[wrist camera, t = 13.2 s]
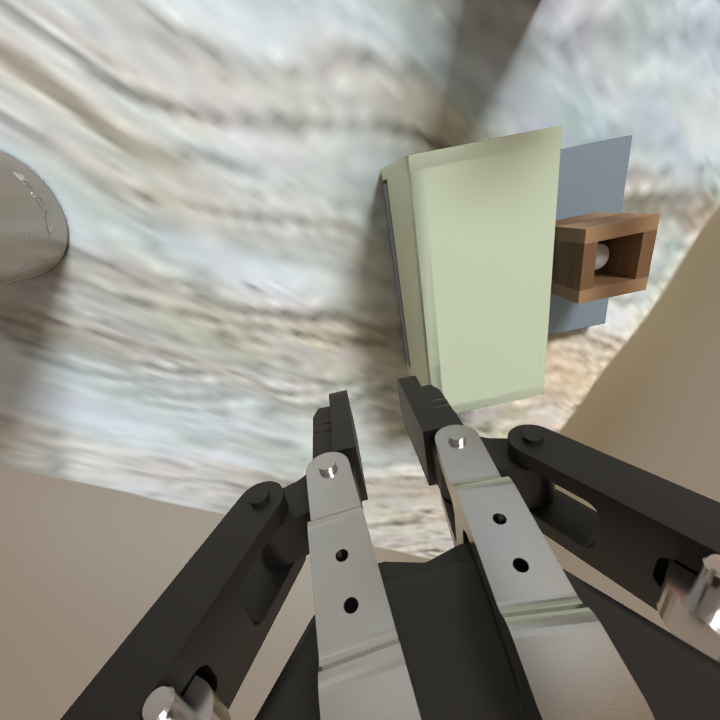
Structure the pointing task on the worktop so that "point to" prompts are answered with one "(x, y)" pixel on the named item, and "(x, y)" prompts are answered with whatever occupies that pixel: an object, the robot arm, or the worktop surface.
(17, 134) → the worktop surface
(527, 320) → the cover
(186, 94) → the worktop surface
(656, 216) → the wooden box
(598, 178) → the base
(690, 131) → the worktop surface
